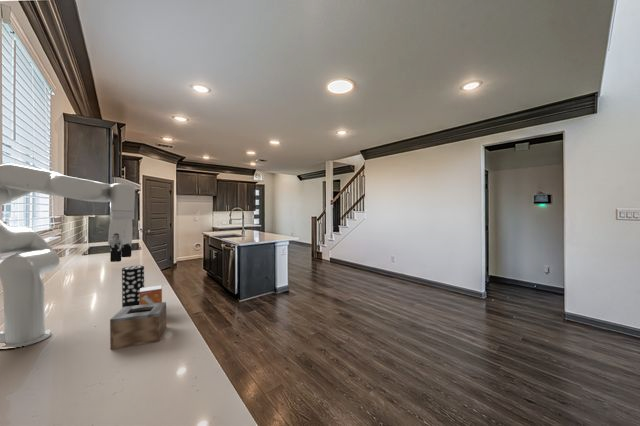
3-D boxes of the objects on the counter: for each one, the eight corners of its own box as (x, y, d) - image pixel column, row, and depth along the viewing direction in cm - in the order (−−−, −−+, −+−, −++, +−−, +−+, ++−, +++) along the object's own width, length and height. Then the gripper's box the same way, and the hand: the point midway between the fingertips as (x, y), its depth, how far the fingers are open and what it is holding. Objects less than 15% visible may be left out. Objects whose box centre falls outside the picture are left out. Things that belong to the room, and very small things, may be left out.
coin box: (110, 349, 84) (110, 319, 84) (123, 333, 96) (123, 306, 95) (158, 341, 89) (158, 313, 89) (166, 326, 101) (166, 301, 100)
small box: (139, 323, 104) (138, 291, 104) (140, 317, 109) (139, 287, 109) (162, 318, 109) (162, 288, 108) (162, 313, 114) (161, 284, 114)
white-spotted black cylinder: (118, 312, 115) (117, 268, 115) (137, 305, 123) (136, 265, 123) (129, 315, 112) (129, 270, 112) (148, 308, 120) (148, 266, 120)
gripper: (120, 215, 106) (119, 255, 106) (99, 215, 89) (98, 264, 89) (141, 215, 108) (140, 255, 108) (124, 216, 92) (123, 263, 92)
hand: (121, 259), depth 99 cm, fingers open, 9 cm apart
